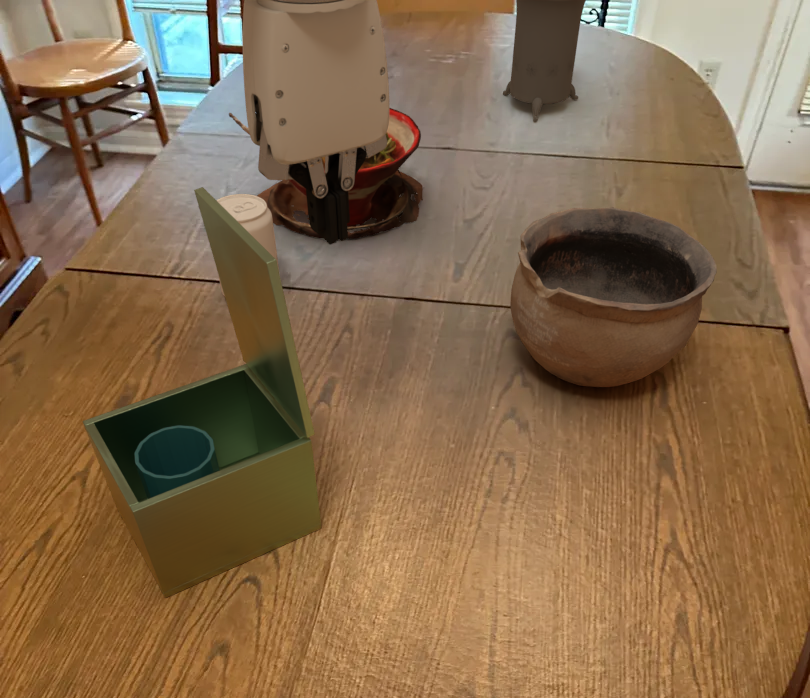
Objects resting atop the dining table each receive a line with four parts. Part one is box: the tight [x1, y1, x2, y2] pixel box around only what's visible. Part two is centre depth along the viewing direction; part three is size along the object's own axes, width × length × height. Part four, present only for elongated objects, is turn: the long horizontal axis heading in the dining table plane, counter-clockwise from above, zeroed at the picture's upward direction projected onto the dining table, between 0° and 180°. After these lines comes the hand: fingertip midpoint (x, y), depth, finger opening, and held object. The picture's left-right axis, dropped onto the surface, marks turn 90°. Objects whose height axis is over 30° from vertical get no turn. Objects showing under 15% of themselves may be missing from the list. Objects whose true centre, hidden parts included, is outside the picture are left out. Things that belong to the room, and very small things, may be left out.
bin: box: [82, 363, 322, 599], centre depth 76 cm, size 17×14×12 cm
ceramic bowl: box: [509, 206, 717, 388], centre depth 92 cm, size 22×22×15 cm
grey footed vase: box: [502, 0, 587, 123], centre depth 143 cm, size 19×15×25 cm
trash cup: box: [134, 425, 220, 499], centre depth 75 cm, size 7×7×10 cm
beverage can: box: [215, 193, 280, 298], centre depth 104 cm, size 8×8×12 cm
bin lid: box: [193, 186, 316, 438], centre depth 67 cm, size 17×14×1 cm
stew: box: [228, 107, 424, 240], centre depth 117 cm, size 28×24×16 cm
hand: (330, 234), depth 66 cm, fingers closed
